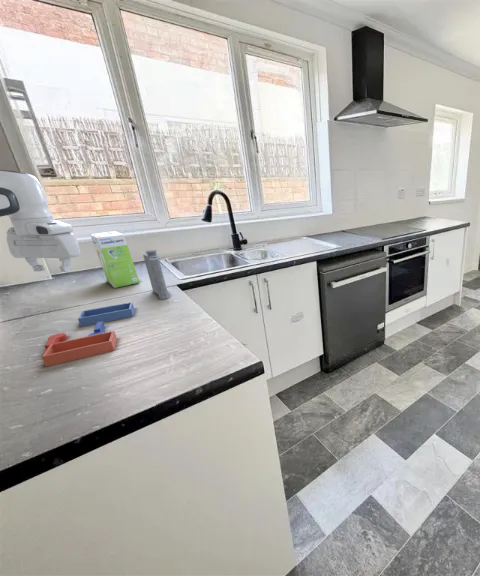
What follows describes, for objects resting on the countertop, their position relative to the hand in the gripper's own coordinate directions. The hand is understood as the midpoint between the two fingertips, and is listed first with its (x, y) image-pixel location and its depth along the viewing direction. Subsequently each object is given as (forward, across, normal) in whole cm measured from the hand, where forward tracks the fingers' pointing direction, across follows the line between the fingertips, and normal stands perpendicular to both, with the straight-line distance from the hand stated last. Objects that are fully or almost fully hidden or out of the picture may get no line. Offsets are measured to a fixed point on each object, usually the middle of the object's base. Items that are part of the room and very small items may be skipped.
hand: (52, 271), depth 98 cm
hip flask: (+20, +6, +32) cm, 39 cm away
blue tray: (+20, +5, +8) cm, 22 cm away
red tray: (+20, +20, -14) cm, 32 cm away
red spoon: (+20, +6, -11) cm, 24 cm away
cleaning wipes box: (+20, -28, +48) cm, 60 cm away
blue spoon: (+20, +13, -4) cm, 25 cm away
